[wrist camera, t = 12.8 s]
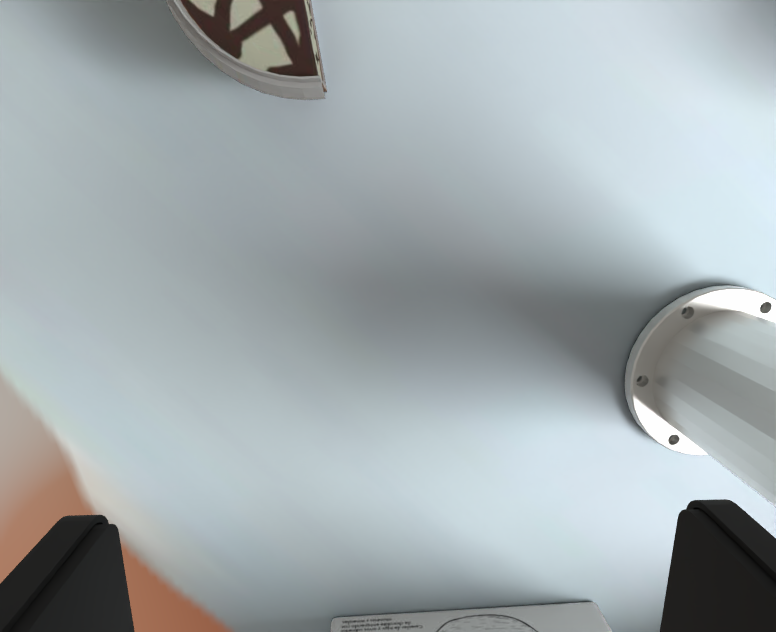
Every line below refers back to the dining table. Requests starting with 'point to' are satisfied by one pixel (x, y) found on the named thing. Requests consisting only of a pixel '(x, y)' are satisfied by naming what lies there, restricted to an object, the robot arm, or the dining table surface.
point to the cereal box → (484, 620)
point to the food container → (258, 43)
